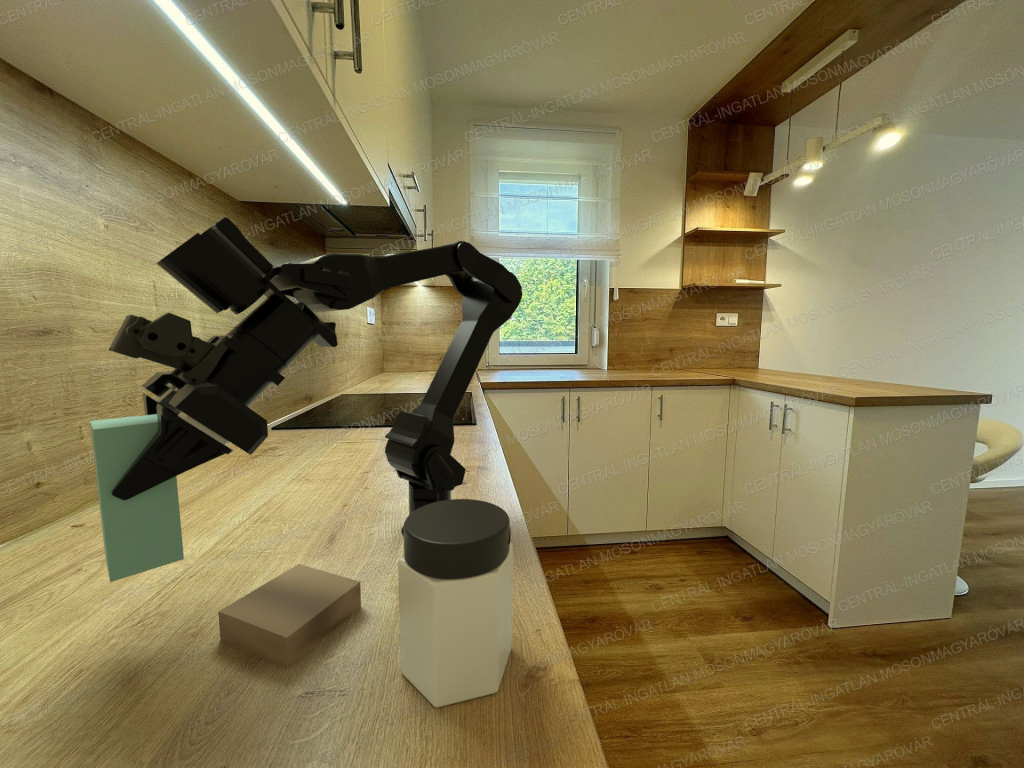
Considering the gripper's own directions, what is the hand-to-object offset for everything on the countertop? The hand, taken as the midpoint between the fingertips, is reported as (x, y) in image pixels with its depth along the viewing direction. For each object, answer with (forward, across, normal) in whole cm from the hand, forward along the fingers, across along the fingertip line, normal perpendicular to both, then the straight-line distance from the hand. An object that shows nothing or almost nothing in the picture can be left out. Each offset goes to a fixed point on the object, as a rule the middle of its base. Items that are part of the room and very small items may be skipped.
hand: (114, 489), depth 33 cm
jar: (-3, +22, +22) cm, 31 cm away
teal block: (+4, 0, +6) cm, 7 cm away
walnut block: (+3, +7, +17) cm, 19 cm away
